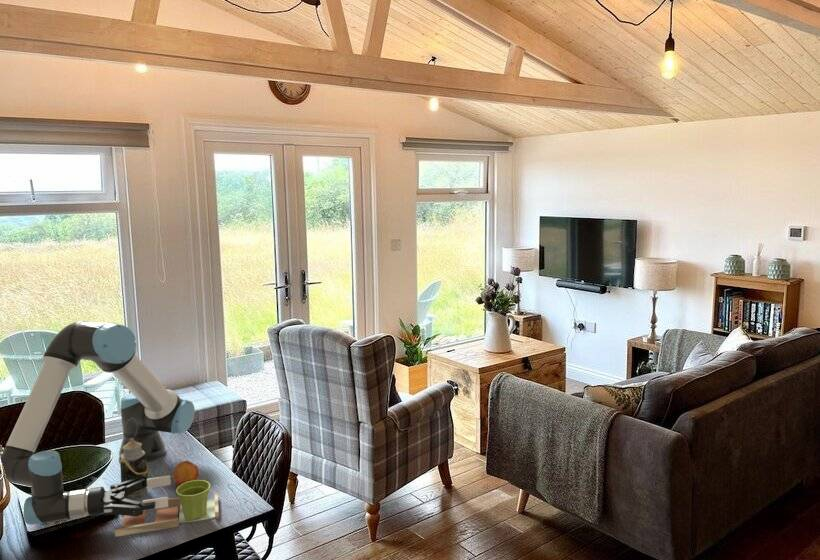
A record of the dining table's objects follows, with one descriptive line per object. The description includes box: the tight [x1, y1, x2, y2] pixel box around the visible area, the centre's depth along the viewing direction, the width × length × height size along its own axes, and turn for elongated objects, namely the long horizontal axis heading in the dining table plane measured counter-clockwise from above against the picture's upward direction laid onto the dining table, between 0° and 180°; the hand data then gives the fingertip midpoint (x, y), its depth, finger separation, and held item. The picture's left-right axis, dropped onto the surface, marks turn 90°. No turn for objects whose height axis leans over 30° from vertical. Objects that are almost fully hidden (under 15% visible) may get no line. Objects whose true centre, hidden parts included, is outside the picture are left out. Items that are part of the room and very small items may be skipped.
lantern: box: [118, 418, 150, 501], centre depth 193 cm, size 9×8×25 cm
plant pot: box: [175, 479, 211, 520], centre depth 181 cm, size 9×9×9 cm
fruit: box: [173, 460, 199, 487], centre depth 200 cm, size 8×8×8 cm
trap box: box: [114, 492, 220, 538], centre depth 182 cm, size 14×28×2 cm, turn 108°
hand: (169, 490), depth 181 cm, fingers open, 13 cm apart
